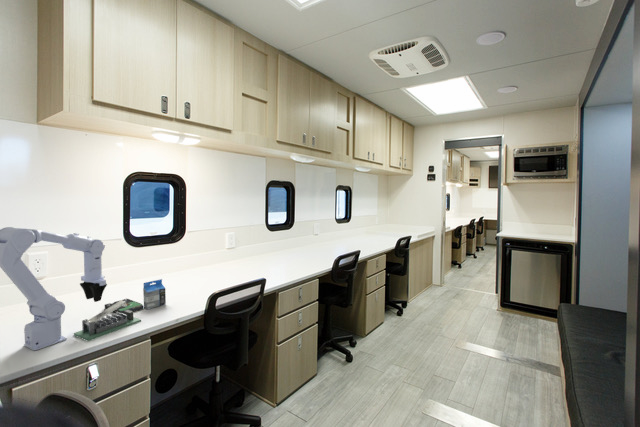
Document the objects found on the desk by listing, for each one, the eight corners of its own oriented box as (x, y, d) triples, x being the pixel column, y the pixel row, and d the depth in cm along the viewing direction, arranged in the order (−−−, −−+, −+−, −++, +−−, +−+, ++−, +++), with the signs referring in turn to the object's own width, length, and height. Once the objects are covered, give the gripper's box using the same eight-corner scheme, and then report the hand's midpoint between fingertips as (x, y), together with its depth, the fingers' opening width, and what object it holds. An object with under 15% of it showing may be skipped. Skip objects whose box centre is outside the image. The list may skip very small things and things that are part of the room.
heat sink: (91, 336, 112) (91, 323, 112) (81, 332, 115) (81, 320, 115) (127, 323, 124) (126, 311, 124) (117, 319, 127) (116, 308, 127)
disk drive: (103, 310, 140) (121, 317, 133) (103, 304, 140) (120, 311, 133) (127, 303, 149) (144, 309, 142) (126, 298, 149) (144, 303, 142)
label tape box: (147, 309, 141) (146, 284, 140) (143, 307, 143) (143, 282, 142) (165, 304, 148) (165, 280, 147) (162, 302, 150) (161, 278, 149)
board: (88, 341, 110) (88, 330, 110) (73, 335, 114) (73, 324, 114) (141, 321, 128) (140, 311, 128) (126, 316, 132) (126, 307, 132)
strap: (90, 328, 114) (88, 323, 113) (86, 327, 115) (83, 322, 114) (127, 305, 126) (125, 301, 125) (122, 304, 127) (121, 299, 126)
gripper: (113, 267, 123) (114, 299, 124) (93, 263, 129) (94, 294, 130) (94, 271, 117) (95, 305, 118) (74, 267, 123) (75, 298, 124)
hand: (93, 299), depth 123 cm, fingers open, 5 cm apart
